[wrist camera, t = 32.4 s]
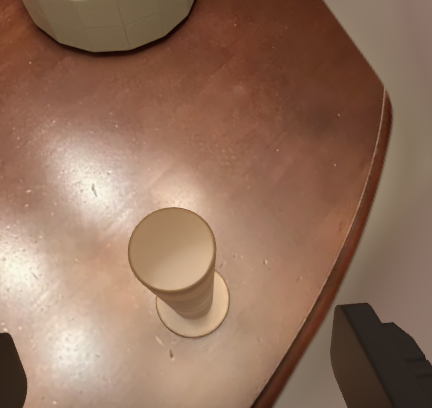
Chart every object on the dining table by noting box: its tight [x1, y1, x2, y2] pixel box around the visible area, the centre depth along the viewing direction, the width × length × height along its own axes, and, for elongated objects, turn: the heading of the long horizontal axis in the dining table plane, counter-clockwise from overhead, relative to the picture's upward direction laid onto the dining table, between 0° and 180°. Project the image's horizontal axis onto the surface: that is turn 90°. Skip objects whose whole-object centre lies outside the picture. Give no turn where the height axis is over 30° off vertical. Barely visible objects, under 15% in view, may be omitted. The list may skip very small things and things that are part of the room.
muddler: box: [128, 207, 230, 338], centre depth 18 cm, size 4×4×15 cm
